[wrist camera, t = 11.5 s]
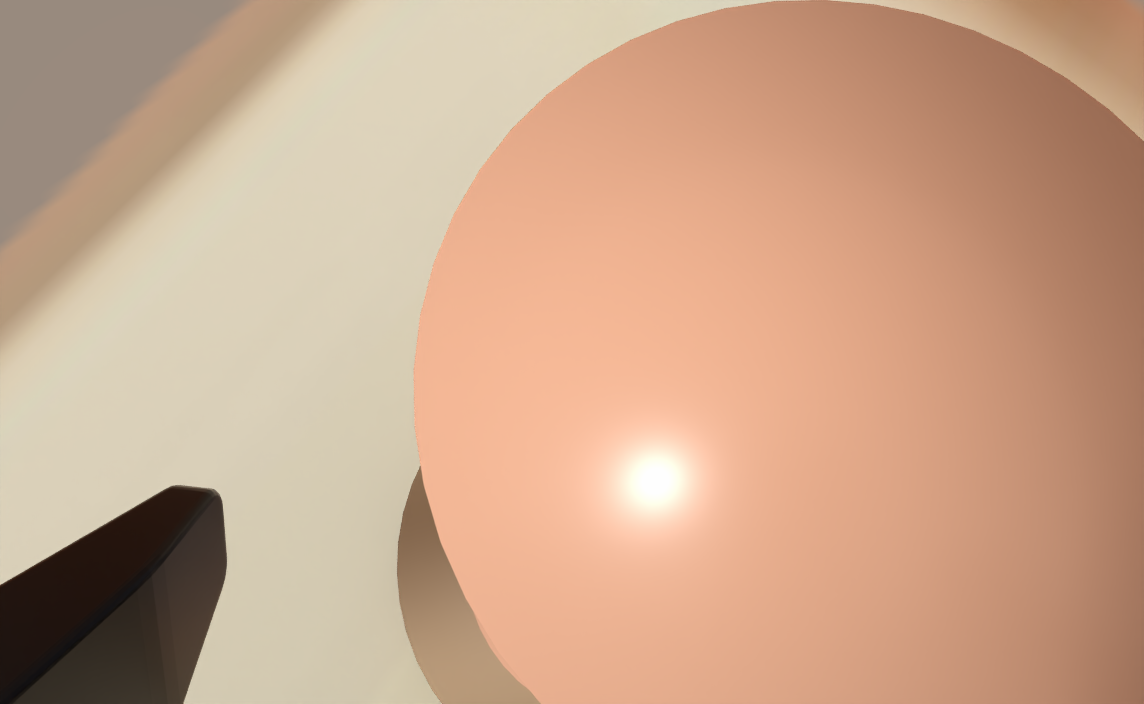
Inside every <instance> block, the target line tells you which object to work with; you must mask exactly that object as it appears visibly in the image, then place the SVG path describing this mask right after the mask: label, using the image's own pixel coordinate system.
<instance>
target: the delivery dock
mask: <svg viewBox="0 0 1144 704" xmlns="http://www.w3.org/2000/svg"><path fill="white" fill-rule="evenodd" d="M397 577H398V588H399V599H400V606H401V610H402V614H403V619H404V623H405V628H406V632H407V635H408V638H409V641H410V643H411V646H412V649H413V651H414V654H415V657H416V660H417V662H418V664H419V666H420V668H421V670H422V672H423V674H424V675H425V677H426V679H427V681H428V683H429V685H430V687H431V689H432V690H433V692H434V693H435V694H436V696H437V697H438V699H439V700H440V702H441V703H442V704H541V703H540V702H539V701H538V700H537V699H536V698H535V696H534V695H533V694H532V693H531V691H530V690H529V689H528V688H527V686H526V685H525V684H524V683H523V682H522V680H521V679H520V678H519V677H518V675H517V674H516V673H515V672H514V671H513V669H512V668H511V667H510V666H509V664H508V663H507V662H506V661H505V659H504V658H503V657H502V656H501V655H500V653H499V652H498V650H497V649H496V647H495V645H494V644H493V642H492V641H491V639H490V637H489V636H488V634H487V632H486V631H485V629H484V628H483V626H482V624H481V623H480V621H479V619H478V618H477V616H476V615H475V613H474V611H473V610H472V608H471V606H470V605H469V603H468V602H467V600H466V598H465V596H464V594H463V591H462V589H461V587H460V585H459V582H458V580H457V578H456V576H455V574H454V571H453V569H452V567H451V565H450V562H449V560H448V558H447V556H446V553H445V551H444V549H443V547H442V544H441V542H440V539H439V535H438V532H437V528H436V525H435V522H434V518H433V515H432V511H431V508H430V505H429V501H428V498H427V494H426V491H425V488H424V484H423V477H422V471H421V466H420V468H419V470H418V472H417V475H416V477H415V479H414V481H413V483H412V486H411V489H410V492H409V496H408V499H407V502H406V506H405V509H404V512H403V517H402V523H401V529H400V535H399V541H398V562H397Z"/></svg>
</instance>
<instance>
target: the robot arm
mask: <svg viewBox="0 0 1144 704" xmlns="http://www.w3.org/2000/svg"><path fill="white" fill-rule="evenodd" d="M226 569H227V553H226V540H225V527H224V515H223V504H222V500H221V497H220V494H219V493H218V492H217V491H215V490H214V489H210V488H201V487H192V486H183V485H175V486H171V487H169V488H167V489H165V490H163V491H161V492H159V493H158V494H156V495H154V496H153V497H151V498H149V499H147V500H146V501H144V502H142V503H141V504H139V505H137V506H135V507H134V508H132V509H130V510H128V511H127V512H125V513H123V514H122V515H120V516H118V517H116V518H115V519H113V520H111V521H110V522H108V523H106V524H104V525H103V526H101V527H99V528H98V529H96V530H94V531H92V532H91V533H89V534H87V535H85V536H84V537H82V538H80V539H79V540H77V541H75V542H73V543H72V544H70V545H68V546H67V547H65V548H63V549H61V550H60V551H58V552H56V553H55V554H53V555H51V556H49V557H48V558H46V559H44V560H42V561H41V562H39V563H37V564H36V565H34V566H32V567H30V568H29V569H27V570H25V571H24V572H22V573H20V574H18V575H17V576H15V577H13V578H12V579H10V580H8V581H6V582H5V583H3V584H1V585H0V704H183V702H184V700H185V697H186V694H187V691H188V688H189V685H190V682H191V679H192V676H193V673H194V670H195V667H196V664H197V661H198V658H199V655H200V652H201V650H202V647H203V644H204V641H205V638H206V635H207V632H208V629H209V626H210V623H211V620H212V617H213V614H214V611H215V608H216V605H217V602H218V600H219V597H220V594H221V591H222V588H223V584H224V580H225V576H226Z"/></svg>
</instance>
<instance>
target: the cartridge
mask: <svg viewBox="0 0 1144 704" xmlns="http://www.w3.org/2000/svg"><path fill="white" fill-rule="evenodd" d="M414 410H415V432H416V438H417V445H418V451H419V458H420V464H421V471H422V477H423V484H424V488H425V491H426V494H427V498H428V501H429V505H430V508H431V511H432V515H433V518H434V522H435V525H436V528H437V532H438V535H439V539H440V542H441V544H442V547H443V549H444V551H445V553H446V556H447V558H448V560H449V562H450V565H451V567H452V569H453V571H454V574H455V576H456V578H457V580H458V582H459V585H460V587H461V589H462V591H463V594H464V596H465V598H466V600H467V602H468V603H469V605H470V606H471V608H472V610H473V611H474V613H475V615H476V616H477V618H478V619H479V621H480V623H481V624H482V626H483V628H484V629H485V631H486V632H487V634H488V636H489V637H490V639H491V641H492V642H493V644H494V645H495V647H496V649H497V650H498V652H499V653H500V655H501V656H502V657H503V658H504V659H505V661H506V662H507V663H508V664H509V666H510V667H511V668H512V669H513V671H514V672H515V673H516V674H517V675H518V677H519V678H520V679H521V680H522V682H523V683H524V684H525V685H526V686H527V688H528V689H529V690H530V691H531V693H532V694H533V695H534V696H535V698H536V699H537V700H538V701H539V702H540V703H541V704H1144V141H1143V140H1142V139H1141V138H1140V137H1138V136H1137V135H1136V134H1135V133H1134V132H1133V131H1132V130H1131V129H1130V128H1129V127H1128V126H1126V125H1125V124H1124V123H1123V122H1122V121H1121V120H1120V119H1119V118H1118V117H1117V116H1116V115H1115V114H1113V113H1112V112H1111V111H1110V110H1109V109H1108V108H1106V107H1105V106H1104V105H1102V104H1101V103H1100V102H1098V101H1097V100H1096V99H1094V98H1093V97H1091V96H1090V95H1089V94H1087V93H1086V92H1085V91H1083V90H1082V89H1081V88H1079V87H1078V86H1077V85H1075V84H1074V83H1072V82H1071V81H1070V80H1068V79H1067V78H1065V77H1064V76H1062V75H1060V74H1059V73H1057V72H1055V71H1053V70H1052V69H1050V68H1048V67H1047V66H1045V65H1043V64H1041V63H1040V62H1038V61H1036V60H1035V59H1033V58H1031V57H1029V56H1028V55H1026V54H1024V53H1023V52H1021V51H1019V50H1016V49H1014V48H1012V47H1010V46H1007V45H1005V44H1003V43H1001V42H998V41H996V40H994V39H992V38H989V37H987V36H985V35H983V34H980V33H978V32H976V31H974V30H971V29H968V28H964V27H961V26H958V25H955V24H952V23H949V22H946V21H943V20H939V19H936V18H933V17H930V16H927V15H924V14H919V13H914V12H909V11H904V10H899V9H894V8H889V7H884V6H879V5H874V4H863V3H851V2H840V1H829V0H808V1H773V2H766V3H759V4H752V5H745V6H738V7H731V8H724V9H721V10H717V11H713V12H710V13H706V14H702V15H698V16H695V17H691V18H687V19H684V20H680V21H676V22H674V23H671V24H669V25H666V26H664V27H662V28H659V29H657V30H654V31H652V32H649V33H647V34H644V35H642V36H639V37H637V38H634V39H632V40H630V41H628V42H626V43H625V44H623V45H621V46H619V47H617V48H616V49H614V50H612V51H610V52H609V53H607V54H605V55H603V56H601V57H600V58H598V59H596V60H594V61H593V62H591V63H589V64H587V65H586V66H585V67H583V68H582V69H581V70H579V71H578V72H577V73H575V74H574V75H572V76H571V77H570V78H568V79H567V80H566V81H564V82H563V83H562V84H560V85H559V86H558V87H556V88H555V89H554V90H552V91H551V92H550V93H548V94H547V95H546V96H545V97H544V98H543V99H542V100H541V101H540V102H539V103H538V104H537V105H536V106H535V107H534V108H533V109H532V110H531V111H530V112H529V113H528V114H527V115H526V116H525V117H524V118H523V119H522V120H520V121H519V122H518V123H517V124H516V125H515V126H514V127H513V128H512V129H511V131H510V132H509V133H508V134H507V136H506V137H505V138H504V139H503V141H502V142H501V143H500V145H499V146H498V147H497V148H496V150H495V151H494V152H493V154H492V155H491V156H490V157H489V159H488V160H487V161H486V163H485V164H484V165H483V166H482V168H481V169H480V170H479V172H478V174H477V176H476V177H475V179H474V181H473V182H472V184H471V186H470V188H469V189H468V191H467V193H466V194H465V196H464V198H463V200H462V201H461V203H460V205H459V206H458V208H457V210H456V212H455V213H454V215H453V218H452V220H451V223H450V225H449V228H448V230H447V232H446V235H445V237H444V240H443V242H442V244H441V247H440V249H439V252H438V254H437V257H436V259H435V261H434V264H433V268H432V272H431V276H430V280H429V284H428V287H427V291H426V295H425V299H424V303H423V307H422V311H421V314H420V322H419V330H418V339H417V347H416V356H415V364H414Z"/></svg>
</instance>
